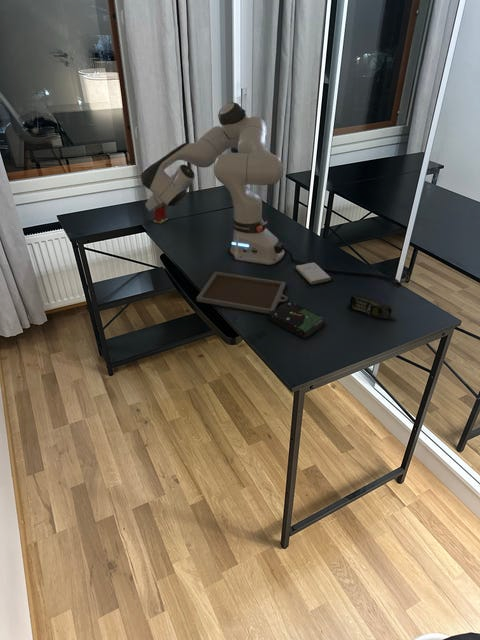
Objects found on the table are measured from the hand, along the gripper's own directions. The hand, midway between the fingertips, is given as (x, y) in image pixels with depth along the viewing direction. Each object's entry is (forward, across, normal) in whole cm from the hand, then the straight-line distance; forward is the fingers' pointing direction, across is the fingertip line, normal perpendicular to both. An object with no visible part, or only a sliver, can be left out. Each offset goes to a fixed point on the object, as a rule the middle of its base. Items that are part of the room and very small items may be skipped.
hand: (158, 207), depth 202 cm
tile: (+4, 0, +5) cm, 6 cm away
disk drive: (-63, +31, +71) cm, 100 cm away
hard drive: (-55, +2, +64) cm, 84 cm away
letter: (+4, 0, +5) cm, 6 cm away
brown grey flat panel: (-47, +28, +55) cm, 77 cm away
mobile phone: (-75, +12, +83) cm, 113 cm away
